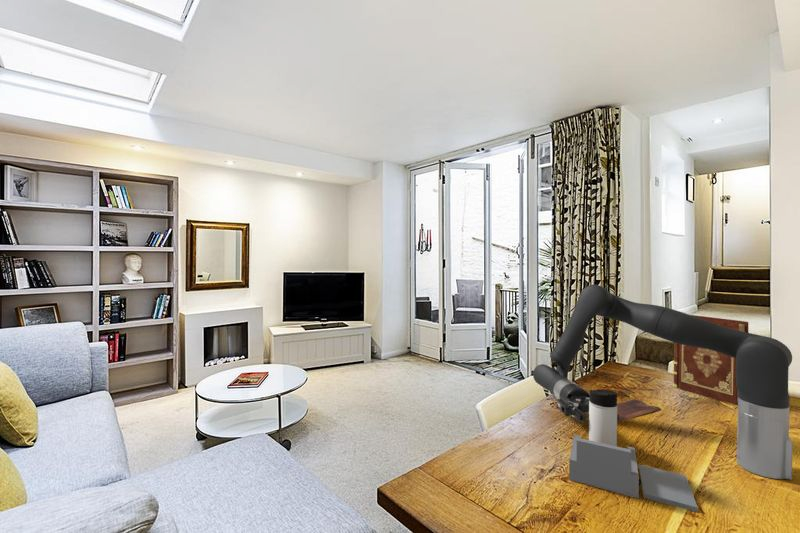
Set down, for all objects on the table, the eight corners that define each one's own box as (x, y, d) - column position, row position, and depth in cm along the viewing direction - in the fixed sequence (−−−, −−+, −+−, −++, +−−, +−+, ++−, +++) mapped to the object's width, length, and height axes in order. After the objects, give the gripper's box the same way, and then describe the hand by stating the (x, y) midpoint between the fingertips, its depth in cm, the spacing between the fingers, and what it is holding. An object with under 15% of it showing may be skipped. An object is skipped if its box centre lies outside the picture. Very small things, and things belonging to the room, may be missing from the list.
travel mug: (603, 476, 89) (604, 395, 88) (583, 462, 95) (583, 386, 95) (623, 472, 90) (624, 393, 90) (602, 458, 97) (603, 384, 96)
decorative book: (668, 385, 152) (669, 314, 151) (680, 383, 155) (681, 313, 154) (736, 405, 131) (738, 323, 131) (747, 401, 135) (749, 321, 134)
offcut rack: (634, 467, 93) (634, 428, 93) (638, 498, 81) (639, 454, 80) (573, 452, 100) (574, 416, 99) (569, 479, 88) (569, 438, 87)
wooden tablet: (612, 421, 117) (586, 406, 126) (612, 427, 117) (585, 412, 126) (663, 407, 128) (635, 394, 137) (662, 413, 128) (634, 400, 137)
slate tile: (685, 479, 88) (685, 475, 88) (697, 512, 76) (697, 507, 76) (638, 468, 92) (639, 464, 92) (643, 497, 81) (643, 493, 81)
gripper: (547, 383, 110) (573, 404, 94) (594, 383, 110) (628, 404, 94) (547, 407, 110) (573, 433, 94) (594, 407, 110) (628, 433, 94)
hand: (600, 418), depth 94 cm, fingers open, 8 cm apart
